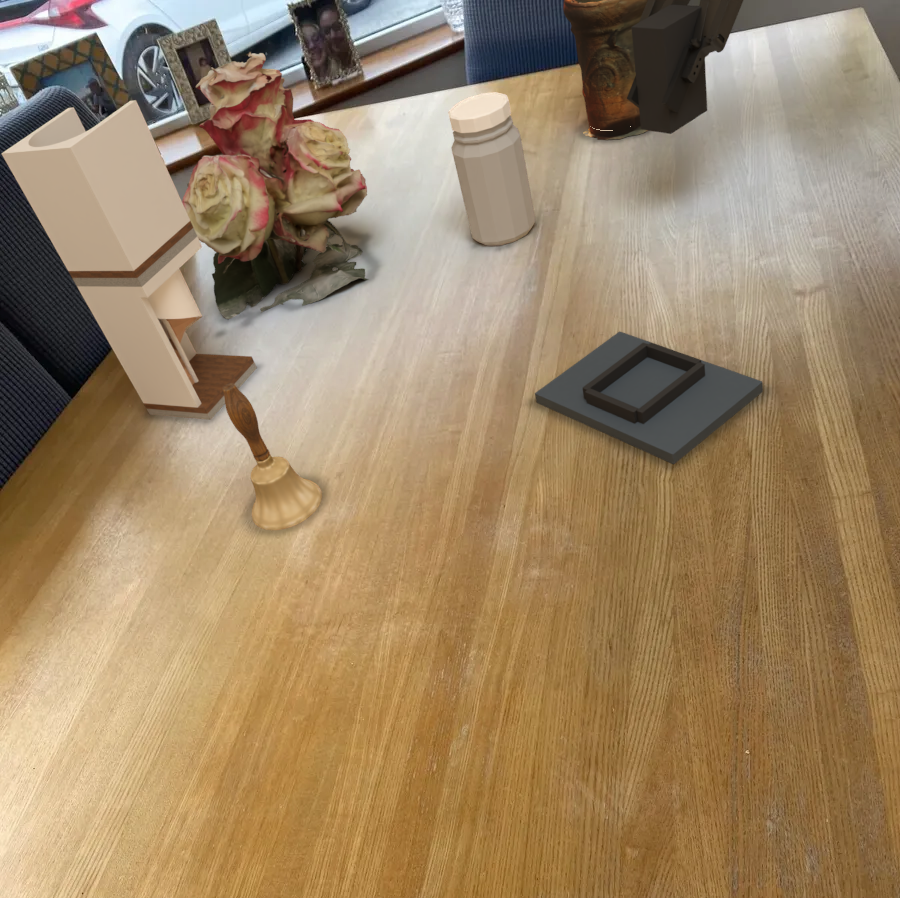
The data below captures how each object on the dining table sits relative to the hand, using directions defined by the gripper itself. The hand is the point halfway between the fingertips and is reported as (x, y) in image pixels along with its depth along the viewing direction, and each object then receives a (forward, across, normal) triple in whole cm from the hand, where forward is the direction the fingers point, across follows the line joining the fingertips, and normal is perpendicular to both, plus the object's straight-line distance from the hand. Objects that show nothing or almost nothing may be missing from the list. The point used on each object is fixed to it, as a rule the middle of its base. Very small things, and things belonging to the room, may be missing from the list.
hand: (652, 105), depth 117 cm
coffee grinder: (+54, -28, -31) cm, 68 cm away
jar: (+19, -21, +4) cm, 28 cm away
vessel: (-6, -30, +28) cm, 42 cm away
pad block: (0, 0, +5) cm, 5 cm away
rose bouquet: (+34, -43, -12) cm, 56 cm away
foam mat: (+33, +24, -10) cm, 42 cm away
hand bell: (+58, +3, -35) cm, 68 cm away
